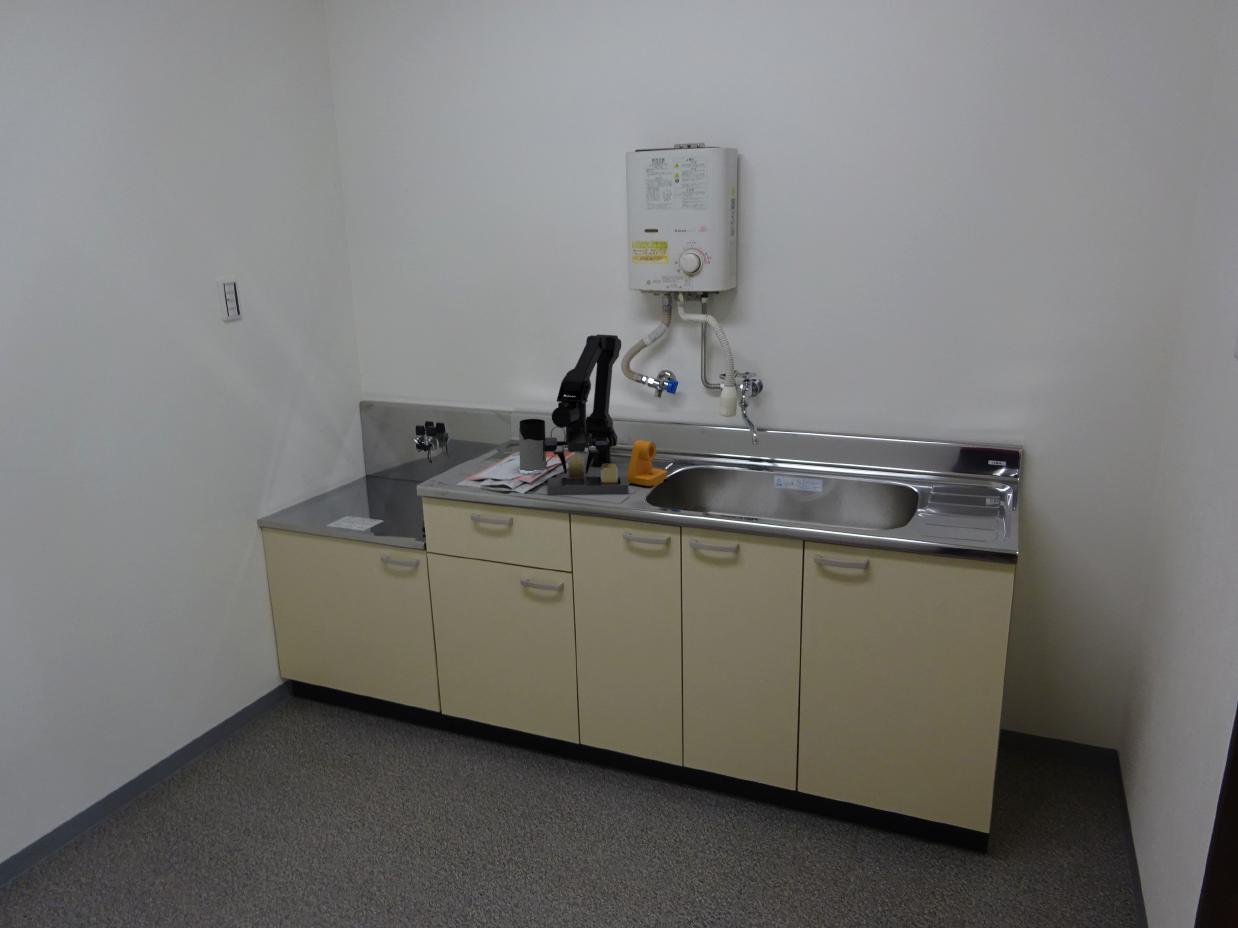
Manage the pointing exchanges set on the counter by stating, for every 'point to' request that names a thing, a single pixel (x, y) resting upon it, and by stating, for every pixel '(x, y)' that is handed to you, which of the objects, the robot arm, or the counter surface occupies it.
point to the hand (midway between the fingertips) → (576, 473)
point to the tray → (585, 486)
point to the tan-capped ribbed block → (609, 474)
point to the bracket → (644, 465)
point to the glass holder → (533, 444)
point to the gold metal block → (576, 466)
